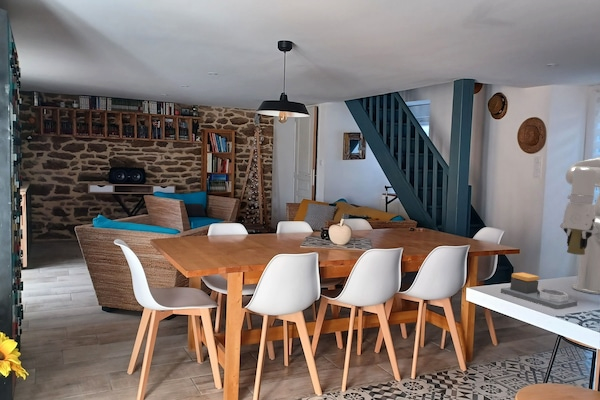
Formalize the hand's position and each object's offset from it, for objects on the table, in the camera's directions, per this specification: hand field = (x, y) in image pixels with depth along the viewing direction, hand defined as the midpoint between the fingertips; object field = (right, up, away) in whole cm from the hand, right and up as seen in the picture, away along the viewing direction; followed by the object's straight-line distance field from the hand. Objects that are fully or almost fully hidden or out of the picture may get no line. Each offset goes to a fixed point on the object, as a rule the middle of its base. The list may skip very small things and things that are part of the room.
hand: (576, 246), depth 190 cm
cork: (0, -3, 0) cm, 3 cm away
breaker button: (-18, -16, +5) cm, 24 cm away
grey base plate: (-15, -20, 0) cm, 25 cm away
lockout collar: (-12, -19, -5) cm, 23 cm away
